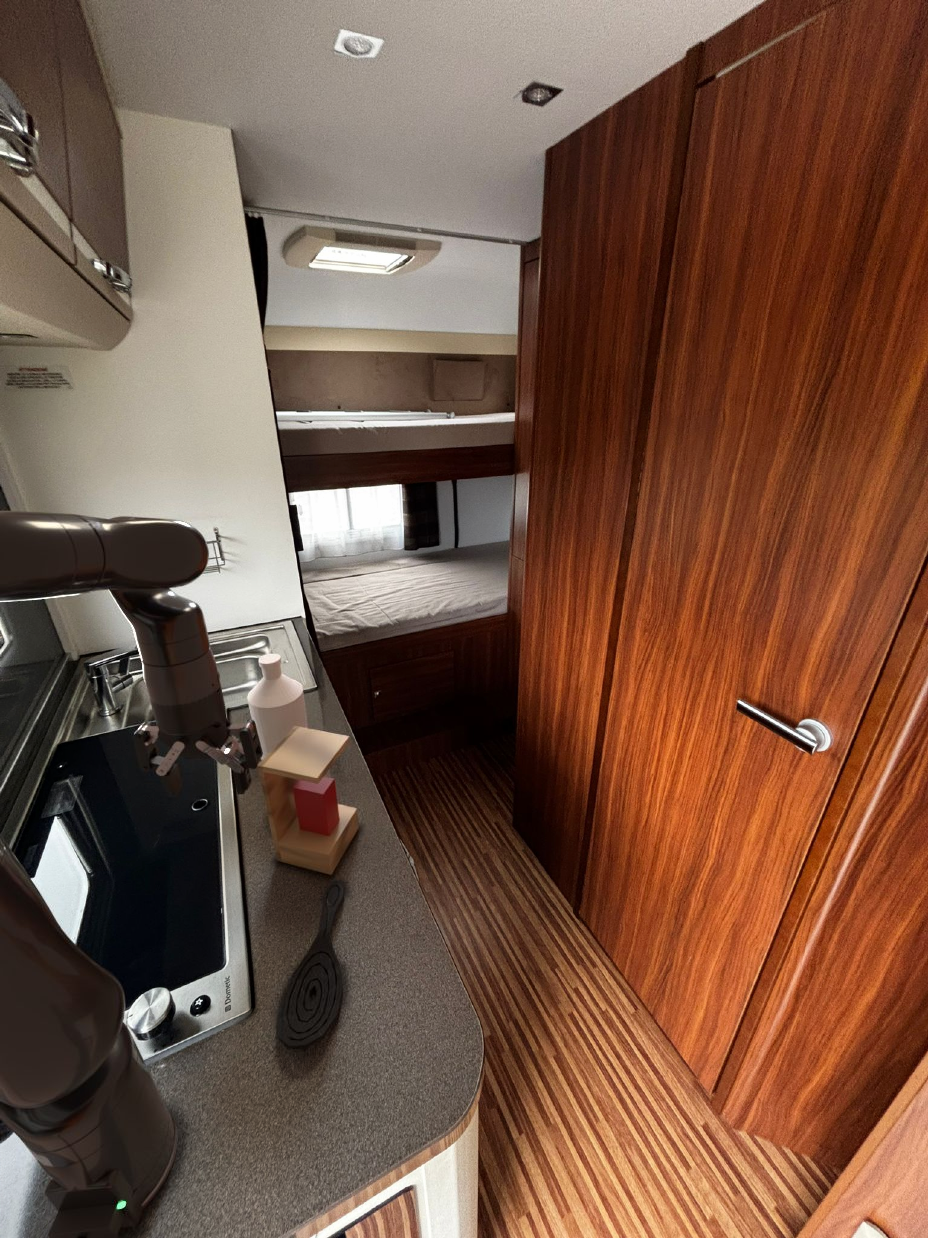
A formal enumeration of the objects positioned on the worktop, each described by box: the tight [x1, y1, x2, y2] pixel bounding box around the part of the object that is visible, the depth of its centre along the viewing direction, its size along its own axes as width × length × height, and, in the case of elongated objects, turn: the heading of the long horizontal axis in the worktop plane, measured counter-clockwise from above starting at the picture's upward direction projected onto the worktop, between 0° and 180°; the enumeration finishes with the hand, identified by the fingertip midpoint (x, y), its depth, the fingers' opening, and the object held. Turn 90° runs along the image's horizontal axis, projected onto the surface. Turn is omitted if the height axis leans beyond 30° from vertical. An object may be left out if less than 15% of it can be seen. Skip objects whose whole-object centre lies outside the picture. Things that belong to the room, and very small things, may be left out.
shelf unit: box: [257, 726, 360, 876], centre depth 89 cm, size 11×11×22 cm
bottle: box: [246, 653, 309, 761], centre depth 112 cm, size 12×12×25 cm
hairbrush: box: [276, 880, 345, 1051], centre depth 74 cm, size 8×4×25 cm
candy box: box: [293, 775, 340, 836], centre depth 89 cm, size 4×6×10 cm, turn 75°
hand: (210, 791), depth 65 cm, fingers open, 8 cm apart
